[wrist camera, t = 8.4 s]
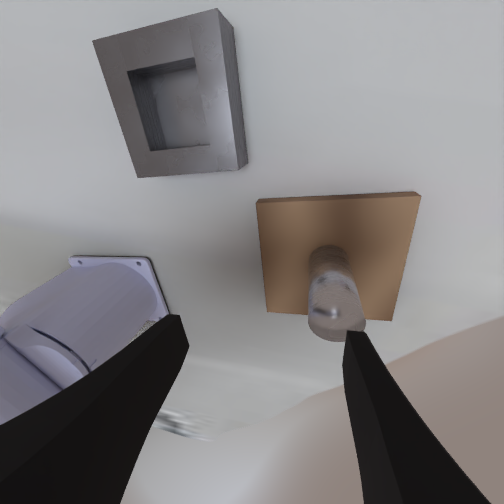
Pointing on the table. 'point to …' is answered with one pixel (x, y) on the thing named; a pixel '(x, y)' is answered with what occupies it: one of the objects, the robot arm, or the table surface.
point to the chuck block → (177, 95)
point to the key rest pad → (338, 234)
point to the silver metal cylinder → (333, 295)
